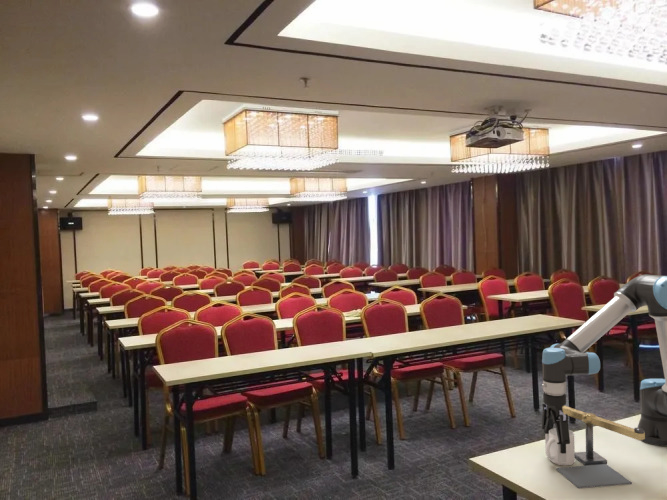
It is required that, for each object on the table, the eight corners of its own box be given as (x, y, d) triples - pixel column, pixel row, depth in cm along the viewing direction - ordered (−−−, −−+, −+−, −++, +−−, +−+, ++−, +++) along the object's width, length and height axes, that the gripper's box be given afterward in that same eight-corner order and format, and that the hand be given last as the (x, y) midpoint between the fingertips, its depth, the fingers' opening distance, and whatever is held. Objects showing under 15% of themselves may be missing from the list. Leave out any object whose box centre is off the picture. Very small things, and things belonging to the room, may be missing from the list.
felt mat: (606, 465, 190) (606, 464, 190) (631, 484, 176) (631, 482, 176) (556, 469, 188) (556, 467, 188) (578, 488, 174) (578, 486, 174)
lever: (647, 439, 177) (647, 429, 177) (638, 442, 175) (638, 431, 175) (553, 406, 211) (553, 398, 211) (544, 408, 209) (544, 400, 209)
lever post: (594, 455, 199) (593, 418, 199) (607, 464, 191) (606, 425, 191) (573, 456, 198) (572, 419, 198) (585, 466, 190) (584, 427, 190)
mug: (556, 470, 187) (555, 440, 187) (536, 461, 195) (536, 433, 194) (580, 462, 193) (579, 433, 193) (560, 454, 200) (559, 426, 200)
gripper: (530, 385, 204) (532, 445, 205) (559, 402, 183) (560, 469, 184) (550, 384, 205) (551, 444, 205) (580, 400, 184) (582, 468, 184)
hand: (555, 456), depth 194 cm, fingers closed on mug, 8 cm apart
